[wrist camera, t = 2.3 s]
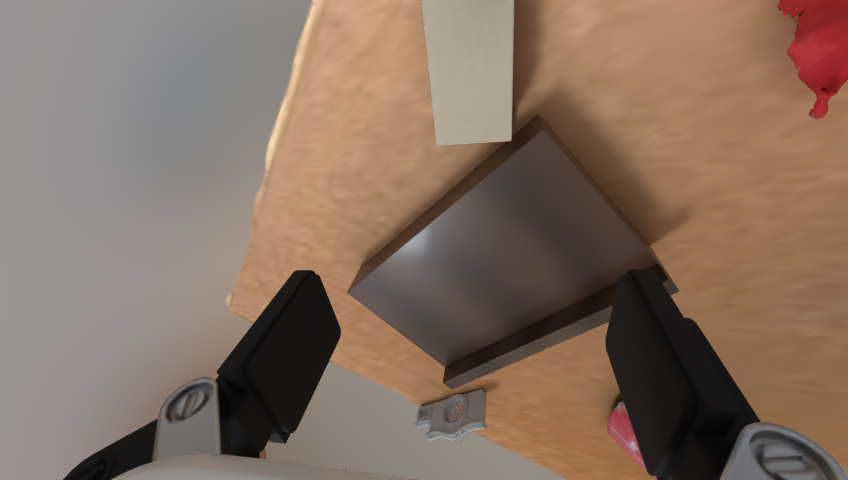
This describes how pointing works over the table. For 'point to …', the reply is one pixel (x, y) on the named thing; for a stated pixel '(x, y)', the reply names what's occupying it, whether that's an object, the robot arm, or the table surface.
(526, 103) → the table surface
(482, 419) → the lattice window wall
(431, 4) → the tall beige carton
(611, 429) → the athletic shoe
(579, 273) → the shelf
